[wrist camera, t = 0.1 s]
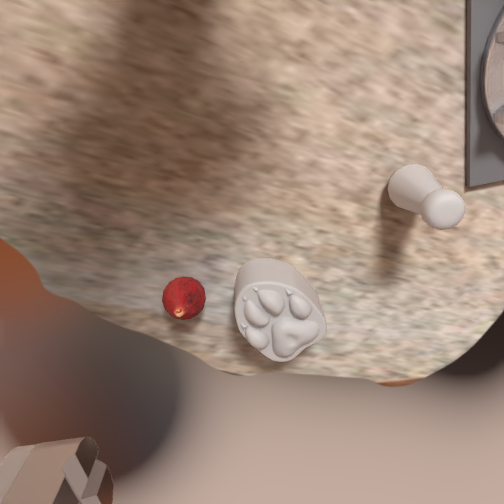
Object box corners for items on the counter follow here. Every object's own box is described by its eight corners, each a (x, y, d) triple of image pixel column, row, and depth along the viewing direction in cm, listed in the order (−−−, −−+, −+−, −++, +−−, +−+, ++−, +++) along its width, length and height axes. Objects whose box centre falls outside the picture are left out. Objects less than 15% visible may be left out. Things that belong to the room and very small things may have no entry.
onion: (192, 260, 59) (184, 287, 52) (215, 289, 61) (211, 320, 54) (159, 280, 61) (147, 309, 53) (183, 308, 63) (175, 340, 55)
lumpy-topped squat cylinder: (274, 340, 65) (278, 377, 57) (217, 285, 61) (213, 317, 53) (327, 301, 62) (339, 335, 55) (272, 241, 58) (276, 268, 51)
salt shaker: (435, 181, 55) (487, 213, 43) (401, 211, 57) (442, 249, 45) (408, 150, 54) (454, 174, 42) (373, 182, 55) (408, 214, 43)
